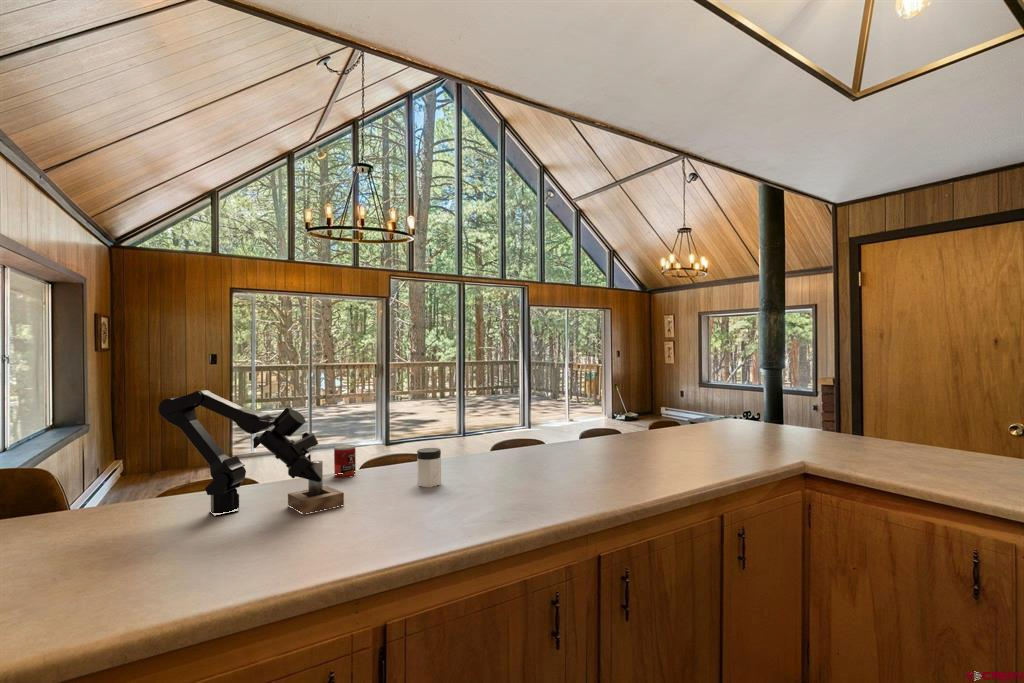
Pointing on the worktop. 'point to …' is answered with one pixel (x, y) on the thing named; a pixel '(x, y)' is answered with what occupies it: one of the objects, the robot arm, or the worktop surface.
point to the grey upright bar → (314, 486)
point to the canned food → (344, 460)
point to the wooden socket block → (315, 500)
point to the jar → (429, 467)
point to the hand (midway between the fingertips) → (320, 479)
